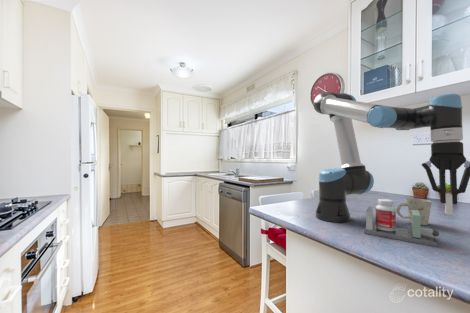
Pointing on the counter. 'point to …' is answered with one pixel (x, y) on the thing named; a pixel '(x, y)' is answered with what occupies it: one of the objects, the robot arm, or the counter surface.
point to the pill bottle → (385, 215)
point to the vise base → (398, 233)
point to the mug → (419, 205)
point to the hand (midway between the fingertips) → (448, 213)
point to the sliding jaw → (416, 226)
